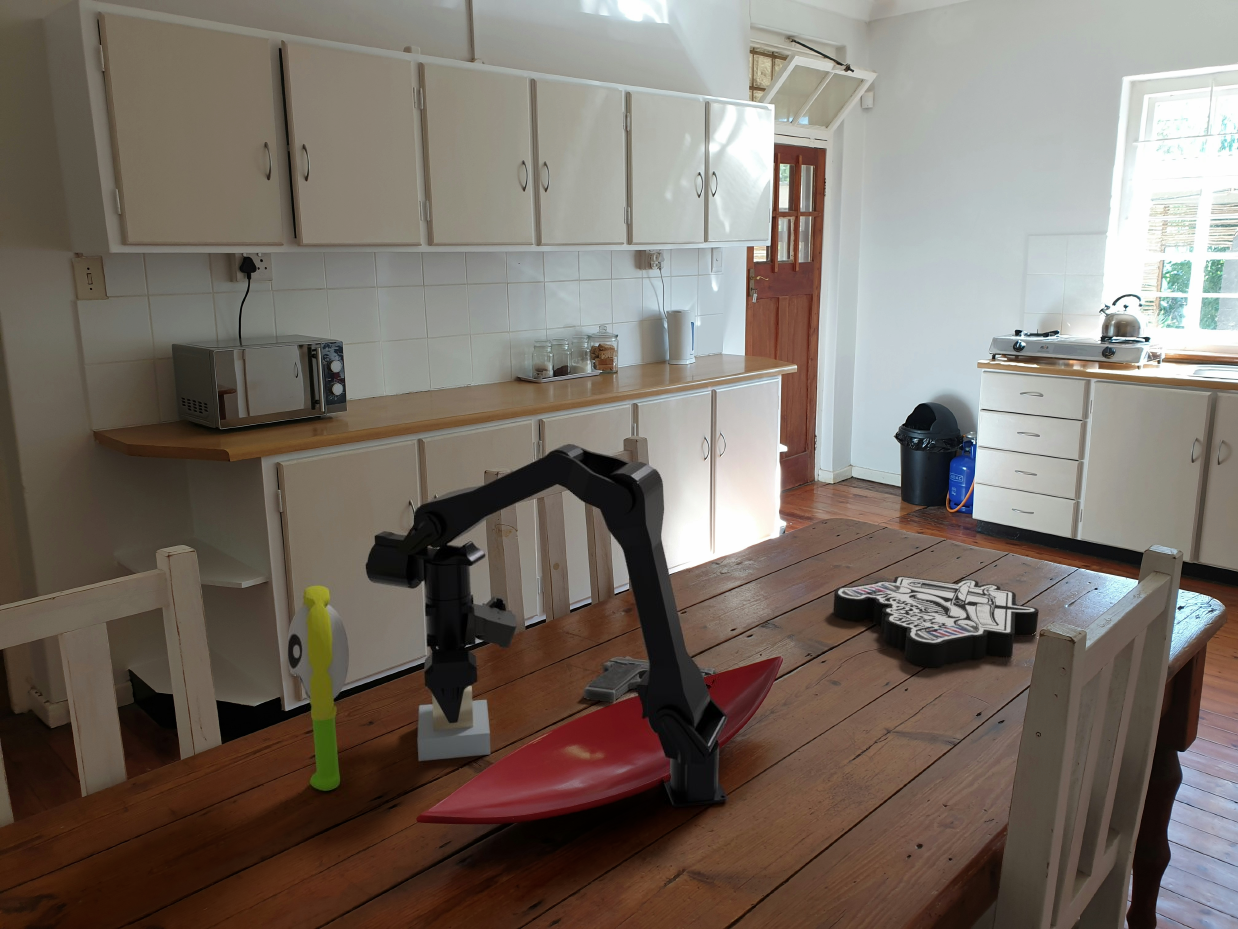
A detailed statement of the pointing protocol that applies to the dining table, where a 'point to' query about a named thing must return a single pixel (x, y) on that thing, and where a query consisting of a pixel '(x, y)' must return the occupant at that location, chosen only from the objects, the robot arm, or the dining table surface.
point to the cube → (464, 715)
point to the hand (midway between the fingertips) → (453, 705)
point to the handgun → (622, 678)
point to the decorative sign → (939, 618)
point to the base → (453, 735)
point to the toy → (320, 674)
